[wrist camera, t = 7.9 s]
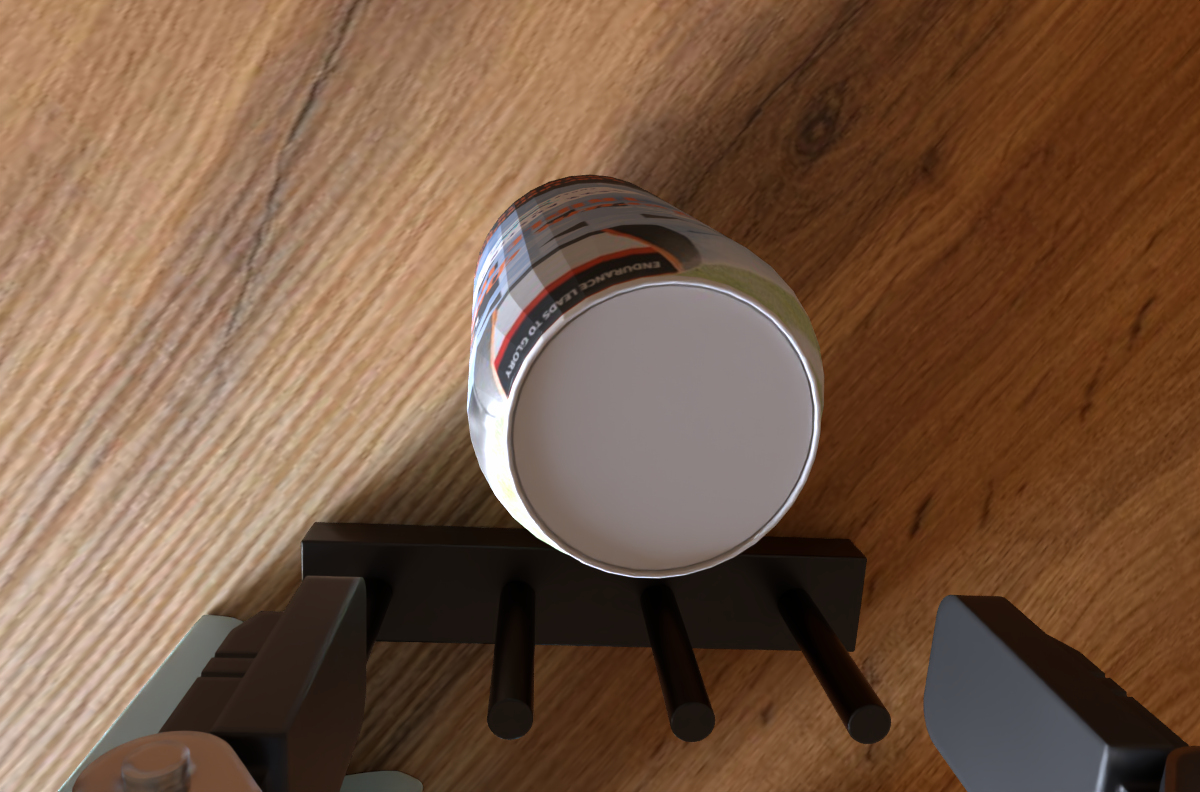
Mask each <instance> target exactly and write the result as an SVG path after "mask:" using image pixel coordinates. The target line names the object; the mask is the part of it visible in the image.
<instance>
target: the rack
mask: <svg viewBox="0 0 1200 792" xmlns="http://www.w3.org/2000/svg"><path fill="white" fill-rule="evenodd" d="M866 563H867V558H866V557H865V556H864V555H863V553H862V552H861V551H860V550H859V549H858V548H857V547H856V546H855V545H854V543H853V542H852V541H851V540H849V539H823V538H792V537H762V538H761V539H760V540H759V541H758V542H757V543H755V544H754V545H752V546H750V547H749V548H747V549H746V550H744V551H743V552H741V553H740V554H738V555H737V556H735V557H733V558H731V559H729V560H727V561H724V562H722V563H720V564H718V565H716V566H713V567H711V568H708V569H704V570H701V571H697V572H694V573H690V574H687V575H681V576H673V577H665V578H636V577H629V576H624V575H618V574H613V573H608V572H605V571H603V570H600V569H597V568H595V567H592V566H589V565H587V564H584V563H582V562H581V561H579V560H577V559H575V558H574V557H572V556H570V555H568V554H565V553H563V552H561V551H559V550H558V549H556V548H554V547H552V546H551V545H549V544H547V543H546V542H544V541H542V540H540V539H539V538H537V537H536V536H534V535H533V534H532V533H531V532H530V531H529V530H527V529H512V528H481V527H450V526H419V525H388V524H356V523H325V522H315V523H314V524H313V525H312V527H311V528H310V530H309V531H308V532H307V534H306V535H305V537H304V538H303V540H302V541H301V573H302V581H303V580H304V578H305V577H306V576H334V577H363V578H364V580H365V585H366V665H367V662H368V659H369V657H370V654H371V651H372V649H373V646H374V643H375V641H388V642H433V643H478V644H495V648H494V658H493V667H492V677H491V686H490V696H489V705H488V714H487V723H488V726H489V728H490V730H491V731H492V732H493V733H494V734H495V735H496V736H498V737H500V738H502V739H508V740H512V739H517V738H520V737H522V736H523V735H525V734H526V733H527V732H528V731H529V730H530V728H531V726H532V724H533V715H534V655H535V645H568V646H614V647H651V648H652V652H653V656H654V660H655V665H656V669H657V673H658V677H659V681H660V685H661V689H662V693H663V697H664V701H665V706H666V710H667V714H668V718H669V722H670V726H671V729H672V731H673V733H674V734H675V735H676V736H677V737H678V738H679V739H681V740H683V741H686V742H697V741H700V740H703V739H704V738H706V737H707V736H708V735H709V734H710V733H711V732H712V730H713V728H714V725H715V715H714V712H713V709H712V706H711V703H710V700H709V697H708V694H707V691H706V688H705V685H704V682H703V679H702V676H701V673H700V670H699V667H698V664H697V661H696V658H695V655H694V652H693V649H692V648H704V649H749V650H794V651H802V653H803V654H804V656H805V658H806V660H807V661H808V663H809V665H810V666H811V668H812V670H813V672H814V673H815V675H816V677H817V679H818V680H819V682H820V684H821V686H822V687H823V689H824V691H825V693H826V694H827V696H828V698H829V700H830V701H831V703H832V705H833V706H834V708H835V710H836V712H837V713H838V715H839V717H840V719H841V720H842V722H843V724H844V726H845V727H846V729H847V731H848V733H849V734H850V736H851V737H852V738H853V739H854V740H856V741H858V742H860V743H863V744H873V743H876V742H878V741H880V740H882V739H883V738H884V737H885V736H886V735H887V734H888V732H889V730H890V727H891V717H890V714H889V712H888V711H887V709H886V708H885V706H884V705H883V703H882V702H881V700H880V699H879V697H878V696H877V695H876V693H875V692H874V690H873V689H872V687H871V686H870V684H869V683H868V681H867V680H866V678H865V677H864V675H863V674H862V672H861V671H860V669H859V668H858V666H857V665H856V663H855V662H854V661H853V659H852V658H851V656H850V655H849V653H848V652H854V651H855V645H856V638H857V630H858V623H859V615H860V608H861V600H862V593H863V585H864V578H865V570H866Z"/></svg>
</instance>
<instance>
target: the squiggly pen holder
mask: <svg viewBox="0 0 1200 792" xmlns="http://www.w3.org/2000/svg"><path fill="white" fill-rule="evenodd" d="M242 623H243V621H240V620H238V619H235V618H232V617H225V616H216V615H204V616H202V617H201V618H200V619H199V620H198V621H197V622H196V623H195V624H194V626H193V627H192V628H191V629H190V630H189V632H188V633H187V634H186V635H185V636H184V638H183V639H182V640H181V641H180V643H179V644H178V645H177V646H176V647H175V649H174V650H173V651H172V652H171V654H170V655H169V656H168V657H167V658H166V660H165V661H164V662H163V663H162V665H161V666H160V667H159V668H158V669H157V671H156V672H155V673H154V674H153V676H152V677H151V678H150V679H149V680H148V682H147V683H146V684H145V685H144V687H143V688H142V689H141V690H140V691H139V693H138V694H137V695H136V696H135V698H134V699H133V700H132V701H131V702H130V704H129V705H128V706H127V707H126V709H125V710H124V711H123V712H122V713H121V715H120V716H119V717H118V718H117V720H116V721H115V722H114V723H113V724H112V726H111V727H110V728H109V729H108V731H107V732H106V733H105V734H104V735H103V737H102V738H101V739H100V740H99V742H98V743H97V744H96V745H95V746H94V748H93V749H92V750H91V751H90V753H89V754H88V755H87V756H86V757H85V759H84V760H83V761H82V762H81V764H80V765H79V766H78V767H77V768H76V770H75V771H74V772H73V773H72V775H71V776H70V777H69V778H68V779H67V781H66V782H65V783H64V784H63V785H62V787H61V788H60V789H59V790H58V792H72V788H73V786H74V783H75V781H76V779H77V778H78V777H79V775H80V774H81V772H82V771H83V770H84V769H85V768H86V767H87V766H88V765H89V764H90V763H92V762H93V761H94V760H96V759H97V758H98V757H100V756H101V755H103V754H104V753H106V752H108V751H109V750H111V749H113V748H115V747H117V746H119V745H121V744H124V743H126V742H129V741H132V740H134V739H137V738H140V737H144V736H148V735H152V734H157V733H158V732H159V731H160V729H161V728H162V726H163V725H164V724H165V722H166V721H167V719H168V718H169V717H170V715H171V714H172V712H173V711H174V710H175V708H176V707H177V705H178V704H179V703H180V701H181V700H182V698H183V697H184V696H185V694H186V693H187V691H188V690H189V689H190V687H191V686H192V684H193V683H194V682H195V680H196V679H197V677H201V672H202V670H203V669H204V668H205V666H206V665H207V663H208V662H209V661H210V659H211V658H212V657H213V658H214V657H215V652H216V651H217V649H218V648H219V646H220V645H221V644H222V642H223V641H224V639H225V638H226V637H227V635H228V634H229V632H230V631H231V630H232V629H234V628H235V627H237V626H239V625H240V624H242ZM340 792H423V785H422V783H421V782H420V781H419V780H418V779H416V778H414V777H412V776H409V775H407V774H404V773H402V772H399V771H377V772H367V773H360V774H354V775H347V776H345V777H344V780H343V783H342V786H341V789H340Z"/></svg>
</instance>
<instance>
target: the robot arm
mask: <svg viewBox="0 0 1200 792" xmlns="http://www.w3.org/2000/svg"><path fill="white" fill-rule="evenodd" d="M365 698H366V585H365V580H364V578H363V577H334V576H306V577H305V578H304V580H303V581H302V583H301V585H300V586H299V588H298V589H297V591H296V593H295V594H294V596H293V597H292V599H291V601H290V602H289V604H288V606H287V607H286V609H285V610H284V612H276V611H261V612H259V613H258V614H256V615H254V616H253V617H251V618H250V619H248V620H247V621H245V622H243V623H242V624H240V625H239V626H237V627H235V628H234V629H232V630H231V631H230V632H229V634H228V635H227V637H226V638H225V639H224V641H223V642H222V644H221V645H220V646H219V648H218V649H217V651H216V652H215V657H214V658H213V657H212V658H211V659H210V661H209V662H208V663H207V665H206V666H205V668H204V669H203V670H202V672H201V677H197V679H196V680H195V682H194V683H193V684H192V686H191V687H190V689H189V690H188V691H187V693H186V694H185V696H184V697H183V698H182V700H181V701H180V703H179V704H178V705H177V707H176V708H175V710H174V711H173V712H172V714H171V715H170V717H169V718H168V719H167V721H166V722H165V724H164V725H163V726H162V728H161V729H160V731H159V732H158V733H157V734H152V735H148V736H144V737H140V738H137V739H134V740H132V741H129V742H126V743H124V744H121V745H119V746H117V747H115V748H113V749H111V750H109V751H108V752H106V753H104V754H103V755H101V756H100V757H98V758H97V759H96V760H94V761H93V762H92V763H90V764H89V765H88V766H87V767H86V768H85V769H84V770H83V771H82V772H81V774H80V775H79V777H78V778H77V779H76V781H75V783H74V786H73V788H72V792H340V789H341V786H342V783H343V780H344V777H345V774H346V771H347V768H348V765H349V763H350V760H351V757H352V754H353V751H354V748H355V745H356V742H357V739H358V736H359V733H360V729H361V725H362V720H363V714H364V707H365ZM924 716H925V722H926V726H927V730H928V733H929V736H930V738H931V740H932V742H933V743H934V745H935V747H936V748H937V749H938V751H939V752H940V754H941V755H942V756H943V758H944V759H945V761H946V762H947V763H948V765H949V766H950V768H951V769H952V770H953V772H954V773H955V775H956V776H957V778H958V779H959V780H960V782H961V783H962V785H963V786H964V787H965V789H966V790H967V792H1200V746H1189V745H1188V744H1187V743H1186V742H1184V741H1183V740H1182V739H1181V738H1180V737H1179V736H1177V735H1176V734H1175V733H1174V732H1173V731H1171V730H1170V729H1169V728H1168V727H1167V726H1166V725H1164V724H1163V723H1162V722H1161V721H1160V720H1159V719H1157V718H1156V717H1155V716H1154V715H1153V714H1152V713H1150V712H1149V711H1148V710H1147V709H1146V708H1145V707H1143V706H1142V705H1141V704H1140V703H1139V702H1138V701H1136V700H1135V699H1134V698H1133V697H1127V692H1126V691H1125V690H1124V689H1122V688H1121V687H1120V686H1119V685H1118V684H1117V683H1115V682H1114V681H1113V680H1112V679H1111V678H1106V677H1105V673H1104V672H1103V671H1101V670H1100V669H1099V668H1098V667H1097V666H1096V665H1094V664H1093V663H1092V662H1091V661H1090V660H1089V659H1087V658H1086V657H1085V656H1084V655H1083V654H1082V653H1080V652H1079V651H1077V650H1075V649H1074V648H1072V647H1070V646H1068V645H1066V644H1064V643H1062V642H1060V641H1058V640H1057V639H1055V638H1053V637H1051V636H1049V635H1047V634H1046V633H1045V632H1043V631H1042V630H1041V629H1040V628H1039V627H1038V626H1037V625H1035V624H1034V623H1033V622H1032V621H1031V620H1030V619H1029V618H1028V617H1026V616H1025V615H1024V614H1023V613H1022V612H1021V611H1020V610H1018V609H1017V608H1016V607H1015V606H1014V605H1013V604H1012V603H1010V602H1009V601H1008V600H1007V599H1005V598H1004V597H1001V596H967V595H948V596H946V597H945V598H943V600H942V601H941V603H940V605H939V608H938V611H937V616H936V623H935V629H934V635H933V641H932V648H931V654H930V660H929V667H928V673H927V679H926V685H925V692H924Z"/></svg>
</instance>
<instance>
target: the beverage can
mask: <svg viewBox="0 0 1200 792" xmlns="http://www.w3.org/2000/svg"><path fill="white" fill-rule="evenodd" d="M823 407H824V372H823V366H822V360H821V354H820V347H819V344H818V341H817V338H816V336H815V333H814V330H813V327H812V325H811V322H810V319H809V317H808V315H807V313H806V312H805V310H804V308H803V307H802V305H801V303H800V302H799V300H798V298H797V297H796V295H795V293H794V292H793V290H792V289H791V288H790V287H789V286H788V285H787V284H786V282H785V281H784V280H783V279H782V278H781V277H780V276H779V275H778V274H777V272H776V271H775V270H774V269H773V268H772V267H771V266H770V265H768V264H767V263H766V262H764V261H763V260H762V259H760V258H759V257H758V256H756V255H755V254H754V253H752V252H751V251H750V250H749V249H747V248H746V247H744V246H742V245H740V244H739V243H737V242H735V241H733V240H732V239H730V238H728V237H726V236H725V235H723V234H721V233H719V232H718V231H716V230H714V229H712V228H711V227H709V226H707V225H705V224H704V223H702V222H700V221H698V220H697V219H695V218H693V217H692V216H690V215H688V214H686V213H685V212H683V211H681V210H679V209H678V208H676V207H674V206H672V205H671V204H669V203H667V202H665V201H664V200H662V199H660V198H658V197H657V196H655V195H653V194H651V193H650V192H648V191H646V190H644V189H642V188H640V187H638V186H636V185H634V184H632V183H630V182H627V181H623V180H620V179H616V178H613V177H607V176H597V175H581V176H569V177H565V178H562V179H558V180H554V181H550V182H548V183H546V184H544V185H542V186H539V187H537V188H535V189H533V190H531V191H529V192H528V193H527V194H525V195H524V196H522V197H521V198H520V199H518V200H517V201H515V202H514V203H513V204H512V205H511V206H510V207H509V208H508V209H507V210H506V211H505V212H504V213H503V214H502V215H501V216H500V217H499V219H498V220H497V222H496V223H495V225H494V226H493V228H492V229H491V231H490V232H489V233H488V235H487V238H486V240H485V242H484V244H483V247H482V249H481V251H480V254H479V258H478V262H477V266H476V270H475V279H474V295H473V313H472V331H471V348H470V366H469V384H468V402H467V412H468V419H469V427H470V435H471V441H472V444H473V447H474V450H475V453H476V456H477V459H478V462H479V465H480V468H481V470H482V472H483V474H484V476H485V477H486V479H487V481H488V483H489V485H490V487H491V488H492V490H493V492H494V494H495V496H496V497H497V498H498V499H499V500H500V502H501V503H502V504H503V505H504V507H505V508H506V509H507V510H508V511H509V513H510V514H511V515H512V516H513V518H514V519H516V520H517V521H518V522H519V523H520V524H522V525H523V526H524V527H525V528H526V529H527V530H529V531H530V532H531V533H532V534H533V535H534V536H536V537H537V538H539V539H540V540H542V541H544V542H546V543H547V544H549V545H551V546H552V547H554V548H556V549H558V550H559V551H561V552H563V553H565V554H568V555H570V556H572V557H574V558H575V559H577V560H579V561H581V562H582V563H584V564H587V565H589V566H592V567H595V568H597V569H600V570H603V571H605V572H608V573H613V574H618V575H624V576H629V577H636V578H665V577H673V576H681V575H687V574H690V573H694V572H697V571H701V570H704V569H708V568H711V567H713V566H716V565H718V564H720V563H722V562H724V561H727V560H729V559H731V558H733V557H735V556H737V555H738V554H740V553H741V552H743V551H744V550H746V549H747V548H749V547H750V546H752V545H754V544H755V543H757V542H758V541H759V540H760V539H761V538H762V537H763V536H764V535H766V534H767V533H768V532H769V531H770V530H771V529H772V528H773V527H775V526H776V525H777V523H778V522H779V521H780V520H781V519H782V517H783V516H784V515H785V514H786V512H787V511H788V510H789V509H790V508H791V506H792V505H793V504H794V502H795V500H796V499H797V497H798V495H799V493H800V492H801V490H802V488H803V487H804V485H805V483H806V481H807V479H808V476H809V473H810V471H811V468H812V466H813V463H814V460H815V458H816V452H817V447H818V442H819V437H820V429H821V418H822V412H823Z"/></svg>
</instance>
